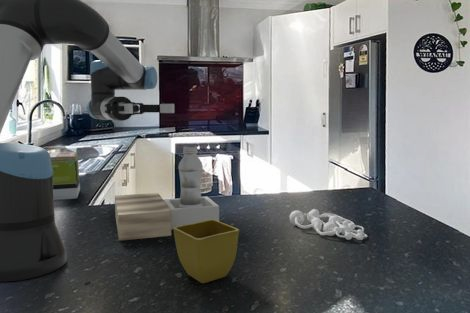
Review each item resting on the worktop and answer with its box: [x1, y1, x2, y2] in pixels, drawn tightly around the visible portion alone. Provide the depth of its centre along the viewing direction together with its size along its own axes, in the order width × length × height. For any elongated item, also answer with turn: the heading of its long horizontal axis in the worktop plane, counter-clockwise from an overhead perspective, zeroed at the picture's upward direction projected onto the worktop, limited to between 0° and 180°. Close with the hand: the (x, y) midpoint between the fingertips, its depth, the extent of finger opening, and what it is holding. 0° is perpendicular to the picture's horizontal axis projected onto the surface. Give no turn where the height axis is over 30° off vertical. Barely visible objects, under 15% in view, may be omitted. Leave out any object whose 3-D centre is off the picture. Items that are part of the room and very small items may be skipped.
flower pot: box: [172, 219, 240, 284], centre depth 73 cm, size 9×9×9 cm
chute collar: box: [163, 195, 220, 231], centre depth 110 cm, size 12×12×5 cm
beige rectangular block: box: [114, 192, 172, 242], centre depth 106 cm, size 22×12×6 cm, turn 18°
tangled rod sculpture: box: [289, 208, 368, 241], centre depth 101 cm, size 19×14×4 cm
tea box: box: [48, 151, 81, 201], centre depth 143 cm, size 15×10×15 cm, turn 17°
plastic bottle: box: [178, 145, 204, 208], centre depth 110 cm, size 6×7×20 cm
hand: (153, 108), depth 116 cm, fingers open, 13 cm apart
